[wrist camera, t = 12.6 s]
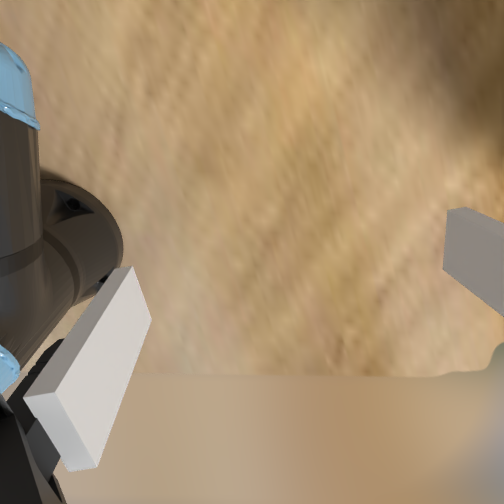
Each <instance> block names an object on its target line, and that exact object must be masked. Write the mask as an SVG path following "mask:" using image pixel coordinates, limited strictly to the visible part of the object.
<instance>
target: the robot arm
mask: <svg viewBox="0 0 504 504" xmlns="http://www.w3.org/2000/svg"><path fill="white" fill-rule="evenodd" d="M38 130H40V125H39V122H38V121H37V120H36V116H35V108H34V99H33V91H32V82H31V76H30V73H29V70H28V68H27V66H26V65H25V63H24V62H23V60H22V59H21V58H20V57H19V56H18V55H17V54H16V53H15V52H14V51H13V50H11V49H10V48H9V47H7V46H6V45H4V44H3V43H1V42H0V504H67V503H66V501H65V498H64V495H63V493H62V491H61V488H60V485H59V483H58V480H57V479H56V477H55V476H54V474H53V471H54V469H55V467H56V465H57V463H58V461H59V459H60V458H61V460H62V462H63V463H64V465H65V466H66V468H67V470H68V471H69V472H72V471H78V470H83V469H90V468H96V467H97V466H98V463H99V461H100V458H101V455H102V453H103V450H104V447H105V444H106V442H107V439H108V436H109V434H110V431H111V428H112V426H113V423H114V420H115V417H116V415H117V412H118V409H119V407H120V404H121V401H122V399H123V396H124V393H125V391H126V387H127V385H128V382H129V380H130V377H131V374H132V372H133V369H134V366H135V364H136V361H137V358H138V356H139V353H140V350H141V347H142V345H143V342H144V339H145V337H146V334H147V331H148V329H149V326H150V323H151V321H152V319H151V316H150V313H149V311H148V308H147V305H146V302H145V299H144V296H143V294H142V291H141V288H140V285H139V282H138V279H137V277H136V274H135V271H134V268H133V266H128V267H122V268H119V267H120V265H121V261H122V257H123V240H122V235H121V232H120V229H119V227H118V225H117V223H116V221H115V219H114V217H113V216H112V214H111V213H110V212H109V210H108V209H107V208H106V207H105V206H104V205H103V204H102V203H101V202H100V201H99V200H98V199H96V198H95V197H94V196H92V195H91V194H90V193H88V192H86V191H85V190H83V189H81V188H79V187H77V186H74V185H72V184H69V183H65V182H61V181H56V180H40V167H39V147H38ZM443 270H444V271H445V272H447V273H448V274H449V275H451V276H452V277H453V278H454V279H456V280H457V281H458V282H460V283H461V284H462V285H463V286H465V287H466V288H467V289H469V290H470V291H471V292H472V293H474V294H475V295H476V296H477V297H479V298H480V299H481V300H483V301H484V302H485V303H486V304H488V305H489V306H490V307H492V308H493V309H494V310H495V311H497V312H498V313H499V314H501V315H502V316H503V317H504V223H502V222H500V221H497V220H495V219H493V218H491V217H488V216H486V215H484V214H481V213H479V212H477V211H475V210H472V209H470V208H468V207H462V208H457V209H451V210H447V222H446V235H445V247H444V260H443ZM95 295H96V296H95ZM93 296H95V297H94V298H93V300H92V301H91V303H90V304H89V305H88V307H87V308H86V310H85V311H84V312H83V314H82V315H81V317H80V318H79V319H78V321H77V322H76V324H75V325H74V326H73V328H72V329H71V331H70V332H69V333H68V335H67V336H66V338H64V339H59V340H57V341H56V342H55V343H54V344H53V345H51V346H50V347H49V348H48V349H47V350H45V351H44V353H43V354H42V355H41V357H40V358H39V359H38V361H37V362H36V365H35V366H33V367H32V368H31V370H30V371H29V372H28V376H25V378H24V379H23V380H22V382H21V383H20V384H19V386H18V387H17V388H16V390H15V391H14V392H13V394H12V395H11V396H10V397H9V399H8V400H7V401H5V400H4V398H3V396H2V395H1V394H2V393H3V392H4V390H6V389H7V388H8V386H10V385H11V384H12V383H13V382H15V380H16V379H17V378H18V377H19V373H20V371H21V370H22V368H23V367H24V366H25V365H26V363H27V362H28V361H29V360H30V358H31V357H32V356H33V354H34V353H35V352H36V351H37V349H38V348H39V347H40V346H41V344H42V343H43V342H44V340H45V339H46V338H47V337H48V335H49V334H50V333H51V332H52V330H53V329H54V328H55V327H56V325H57V324H58V323H59V321H60V320H61V319H62V318H63V316H64V315H65V314H66V313H67V311H68V310H69V309H70V308H71V307H72V306H75V305H77V304H79V303H81V302H83V301H85V300H87V299H89V298H91V297H93Z"/></svg>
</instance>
